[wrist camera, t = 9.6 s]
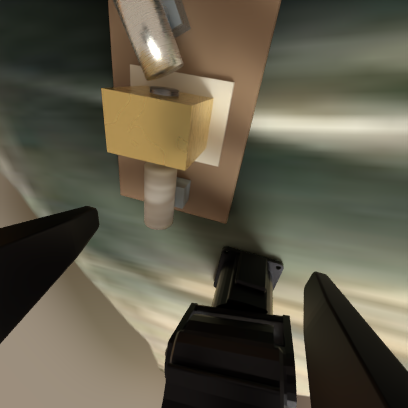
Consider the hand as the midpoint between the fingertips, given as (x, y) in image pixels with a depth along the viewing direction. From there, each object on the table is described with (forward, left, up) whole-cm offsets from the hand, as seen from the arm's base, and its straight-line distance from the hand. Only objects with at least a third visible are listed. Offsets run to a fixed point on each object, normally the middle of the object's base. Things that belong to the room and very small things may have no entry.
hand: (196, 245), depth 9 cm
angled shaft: (+8, +6, -10) cm, 14 cm away
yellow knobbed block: (+3, +5, -10) cm, 12 cm away
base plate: (+3, +5, -12) cm, 13 cm away
